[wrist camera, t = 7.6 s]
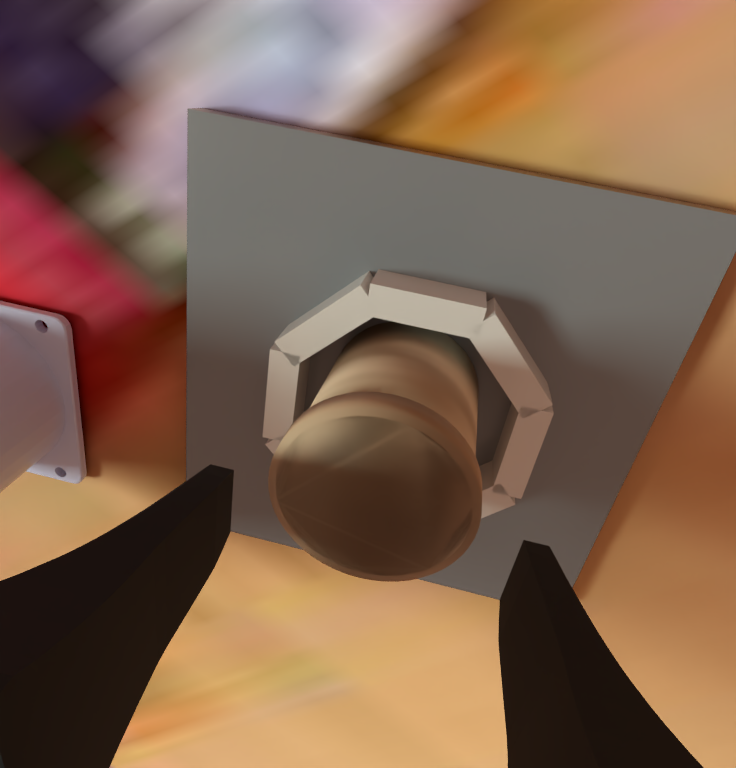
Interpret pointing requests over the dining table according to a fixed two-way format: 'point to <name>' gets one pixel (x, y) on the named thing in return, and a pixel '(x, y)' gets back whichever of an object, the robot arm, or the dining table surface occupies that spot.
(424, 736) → the dining table surface
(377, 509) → the cup
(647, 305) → the collar board
